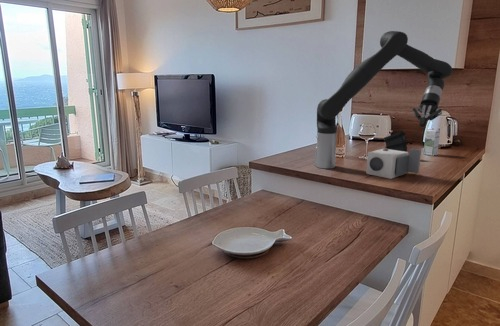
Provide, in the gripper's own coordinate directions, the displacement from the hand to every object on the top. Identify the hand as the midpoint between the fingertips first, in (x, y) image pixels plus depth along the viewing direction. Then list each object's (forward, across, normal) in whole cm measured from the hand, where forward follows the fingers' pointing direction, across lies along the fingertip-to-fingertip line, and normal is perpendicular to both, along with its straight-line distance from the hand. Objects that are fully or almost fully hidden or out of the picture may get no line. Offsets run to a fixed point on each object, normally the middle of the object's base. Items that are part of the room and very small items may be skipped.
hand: (422, 125), depth 158 cm
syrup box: (-16, -5, +47) cm, 50 cm away
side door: (+24, -1, +5) cm, 24 cm away
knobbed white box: (+24, -10, +6) cm, 27 cm away
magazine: (-2, -19, +33) cm, 38 cm away
